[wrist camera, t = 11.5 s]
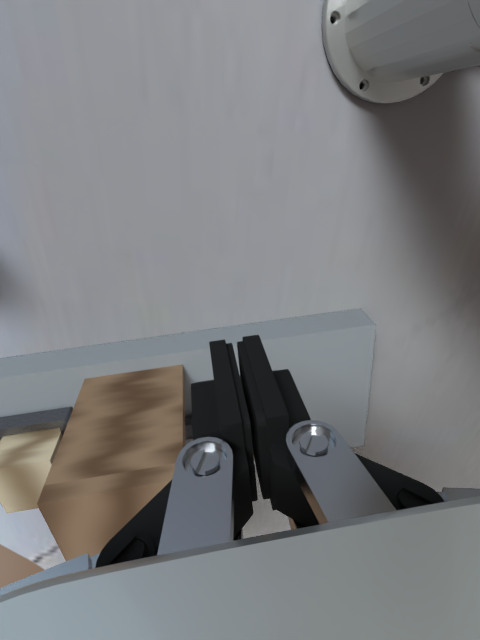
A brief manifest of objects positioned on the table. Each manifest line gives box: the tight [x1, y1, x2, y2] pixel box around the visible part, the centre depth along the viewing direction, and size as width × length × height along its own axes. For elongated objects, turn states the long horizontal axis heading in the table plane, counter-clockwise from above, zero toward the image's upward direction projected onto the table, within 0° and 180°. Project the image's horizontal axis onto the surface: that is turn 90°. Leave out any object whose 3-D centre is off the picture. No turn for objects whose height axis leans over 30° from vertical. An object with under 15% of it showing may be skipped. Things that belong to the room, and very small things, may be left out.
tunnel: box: [37, 365, 185, 561], centre depth 36 cm, size 10×15×14 cm, turn 5°
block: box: [0, 427, 63, 513], centre depth 39 cm, size 6×6×6 cm
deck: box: [0, 308, 376, 505], centre depth 45 cm, size 45×18×4 cm, turn 95°
